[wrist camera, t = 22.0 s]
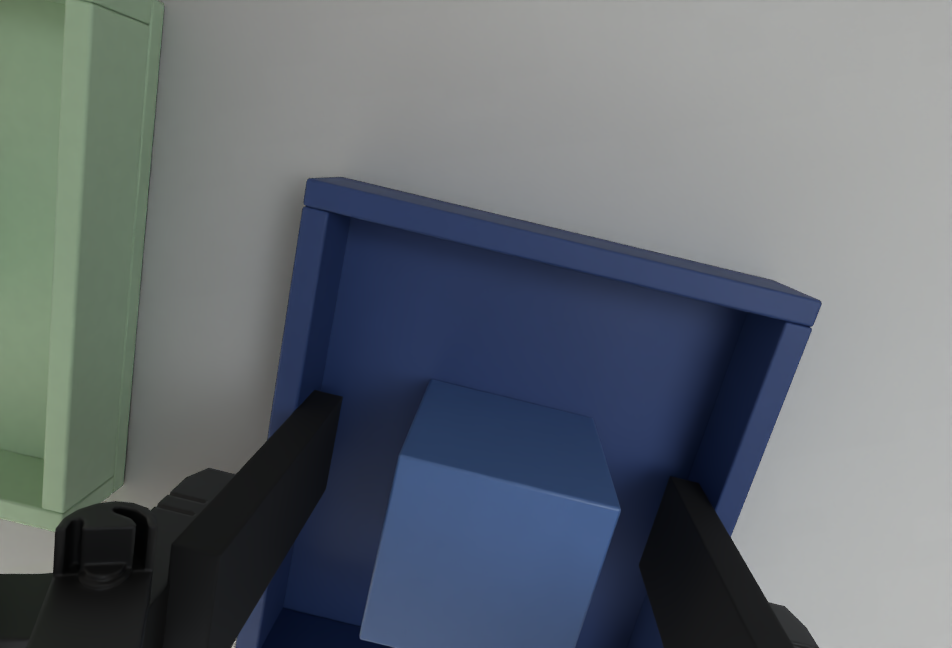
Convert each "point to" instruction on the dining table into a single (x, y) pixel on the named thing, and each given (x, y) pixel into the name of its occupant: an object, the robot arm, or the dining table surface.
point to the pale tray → (71, 244)
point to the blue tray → (514, 379)
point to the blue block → (491, 526)
